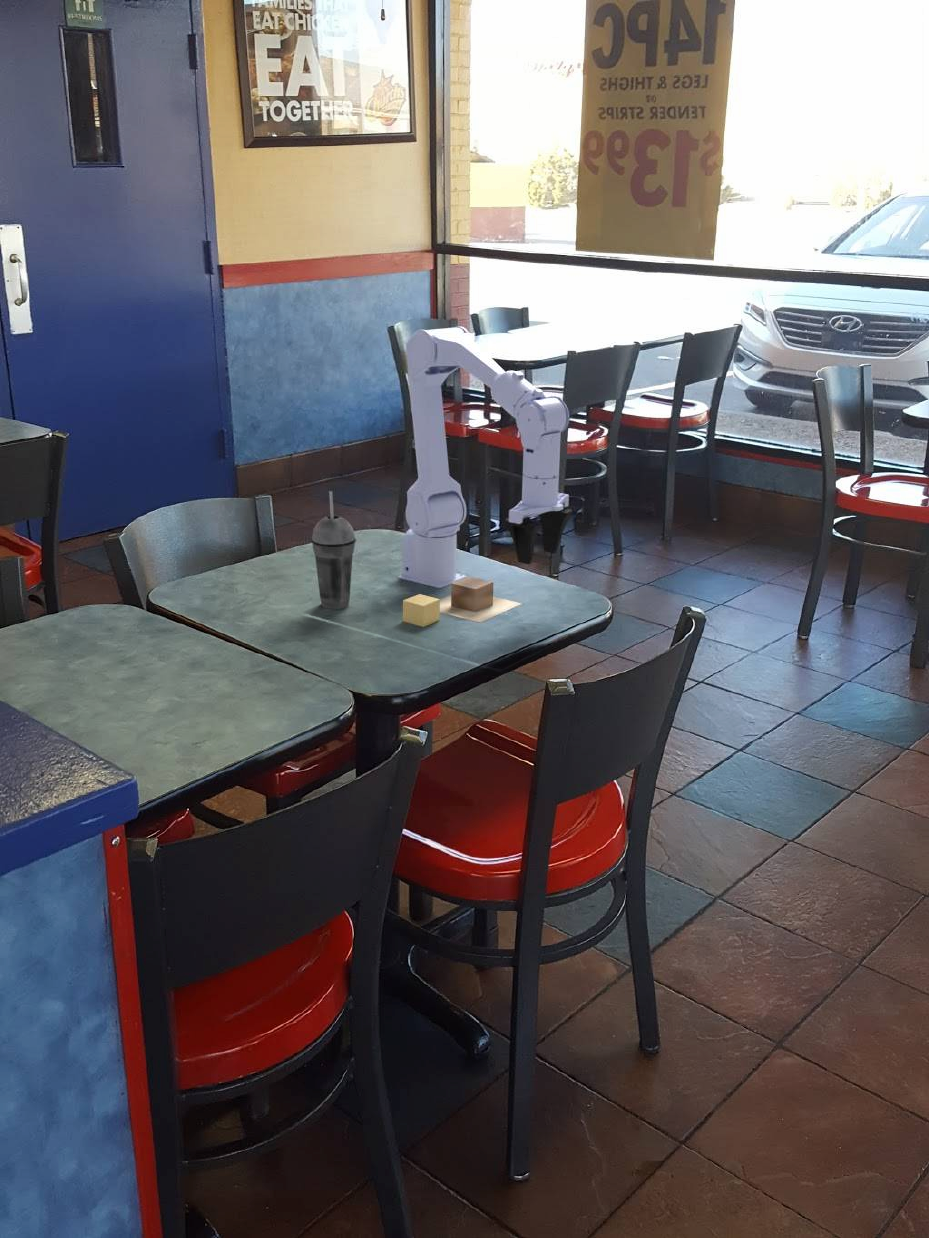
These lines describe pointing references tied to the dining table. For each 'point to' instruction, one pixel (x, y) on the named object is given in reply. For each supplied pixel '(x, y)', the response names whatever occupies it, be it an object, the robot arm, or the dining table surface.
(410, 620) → the ochre block
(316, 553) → the beverage cup
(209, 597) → the dining table surface
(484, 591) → the walnut block
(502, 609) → the build board
